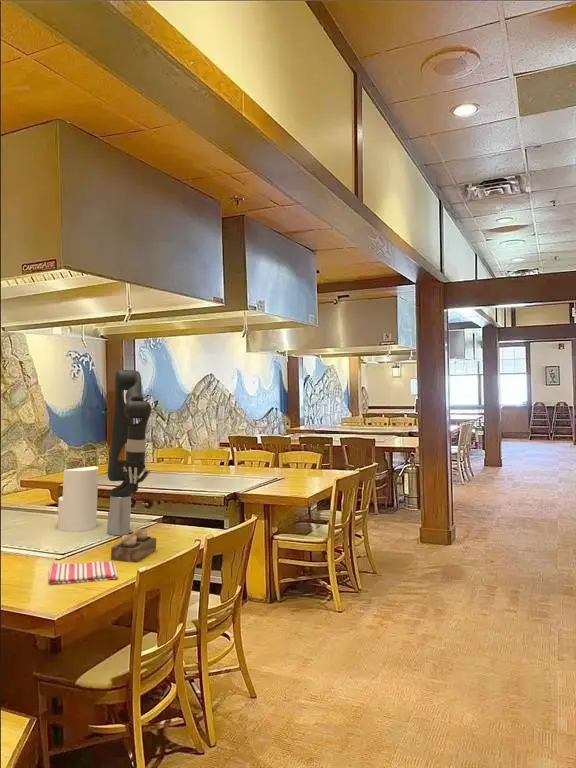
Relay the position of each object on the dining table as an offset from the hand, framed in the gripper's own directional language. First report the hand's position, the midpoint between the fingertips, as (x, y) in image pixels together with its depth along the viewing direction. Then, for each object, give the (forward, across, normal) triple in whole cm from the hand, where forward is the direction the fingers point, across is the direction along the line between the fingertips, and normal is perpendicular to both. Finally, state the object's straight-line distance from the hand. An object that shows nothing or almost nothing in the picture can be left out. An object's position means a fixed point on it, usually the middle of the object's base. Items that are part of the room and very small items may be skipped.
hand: (133, 492), depth 245 cm
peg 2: (+25, +2, +3) cm, 25 cm away
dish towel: (+25, -4, -30) cm, 40 cm away
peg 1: (+25, +2, -7) cm, 26 cm away
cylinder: (+27, -42, +30) cm, 58 cm away
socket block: (+25, +2, -2) cm, 25 cm away
